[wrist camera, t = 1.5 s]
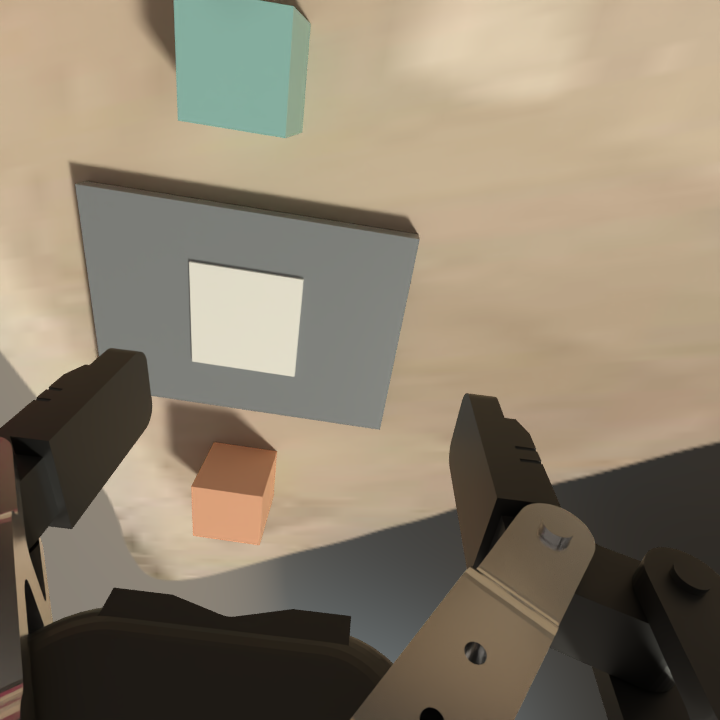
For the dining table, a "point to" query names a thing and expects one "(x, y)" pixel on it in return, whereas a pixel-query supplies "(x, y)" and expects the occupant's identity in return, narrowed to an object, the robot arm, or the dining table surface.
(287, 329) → the plate
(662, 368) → the dining table surface
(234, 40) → the teal cube
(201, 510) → the orange cube
